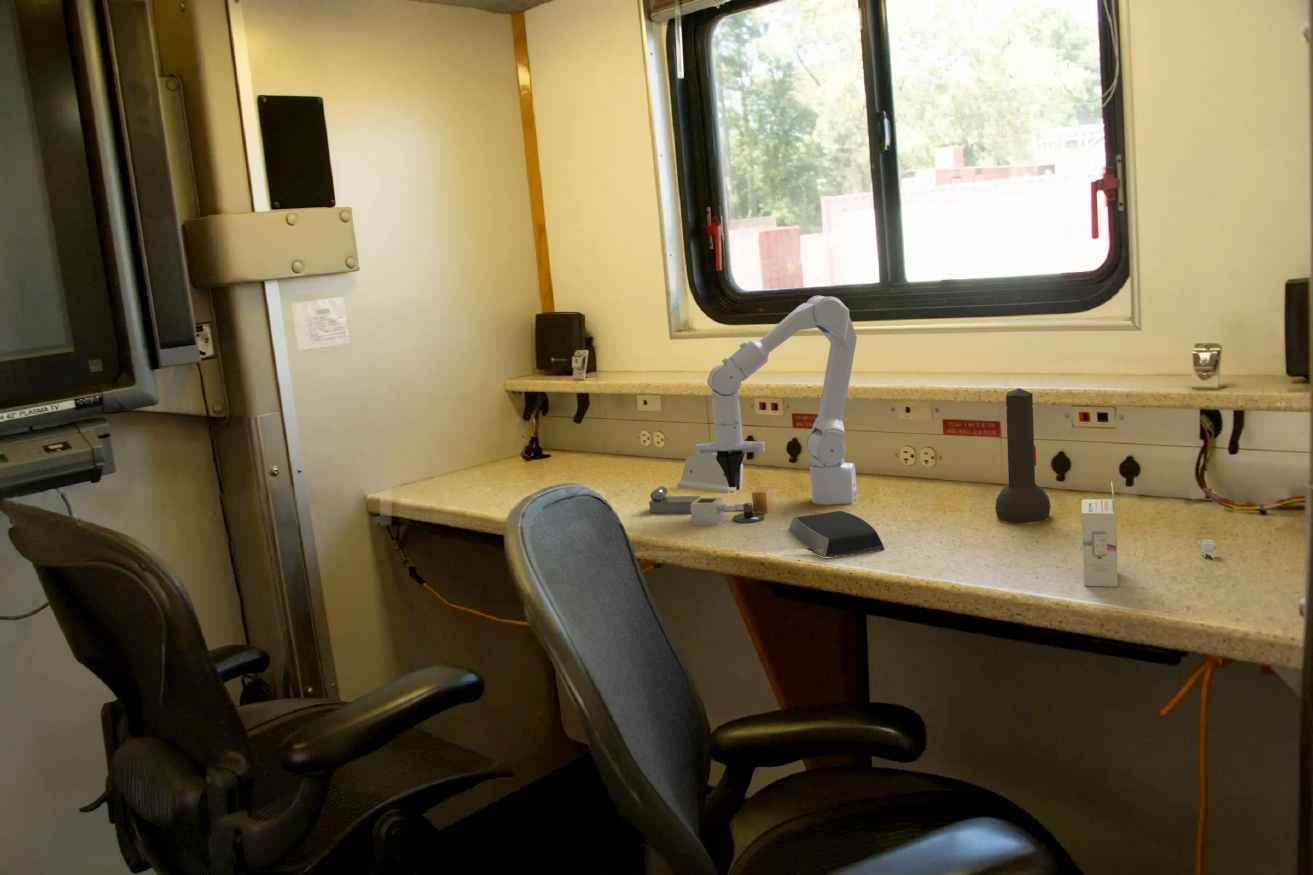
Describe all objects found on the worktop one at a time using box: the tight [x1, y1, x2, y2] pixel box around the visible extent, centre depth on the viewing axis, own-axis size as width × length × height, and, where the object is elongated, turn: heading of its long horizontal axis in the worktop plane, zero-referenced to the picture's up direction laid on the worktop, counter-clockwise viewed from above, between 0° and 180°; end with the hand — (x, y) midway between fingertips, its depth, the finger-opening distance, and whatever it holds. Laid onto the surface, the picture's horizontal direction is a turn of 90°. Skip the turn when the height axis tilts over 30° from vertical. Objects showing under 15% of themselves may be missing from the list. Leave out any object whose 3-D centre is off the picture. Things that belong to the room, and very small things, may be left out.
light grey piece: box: [676, 453, 744, 494], centre depth 244 cm, size 17×5×10 cm, turn 46°
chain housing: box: [648, 485, 701, 515], centre depth 224 cm, size 10×5×5 cm, turn 71°
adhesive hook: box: [1196, 539, 1220, 559], centre depth 166 cm, size 3×3×3 cm
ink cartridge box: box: [1080, 480, 1119, 588], centre depth 160 cm, size 9×5×15 cm, turn 158°
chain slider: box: [723, 486, 774, 514], centre depth 220 cm, size 18×5×4 cm, turn 71°
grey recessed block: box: [690, 496, 726, 526], centre depth 212 cm, size 5×5×4 cm
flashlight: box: [994, 387, 1052, 524], centre depth 196 cm, size 10×25×10 cm
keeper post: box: [732, 502, 765, 524], centre depth 212 cm, size 6×6×3 cm
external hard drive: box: [788, 510, 885, 558], centre depth 194 cm, size 13×19×4 cm
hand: (733, 486), depth 218 cm, fingers closed
